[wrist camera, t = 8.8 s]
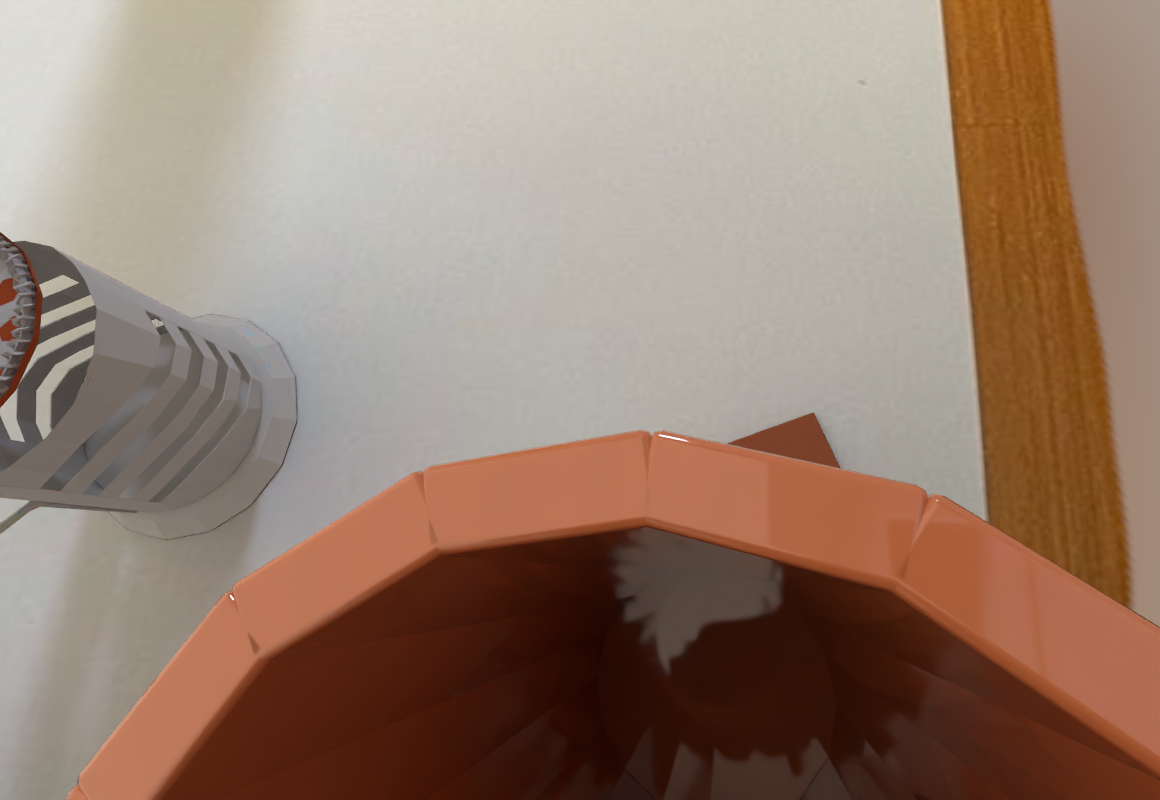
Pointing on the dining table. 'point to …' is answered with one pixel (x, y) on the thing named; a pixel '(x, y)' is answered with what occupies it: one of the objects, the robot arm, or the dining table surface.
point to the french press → (137, 403)
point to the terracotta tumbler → (650, 647)
